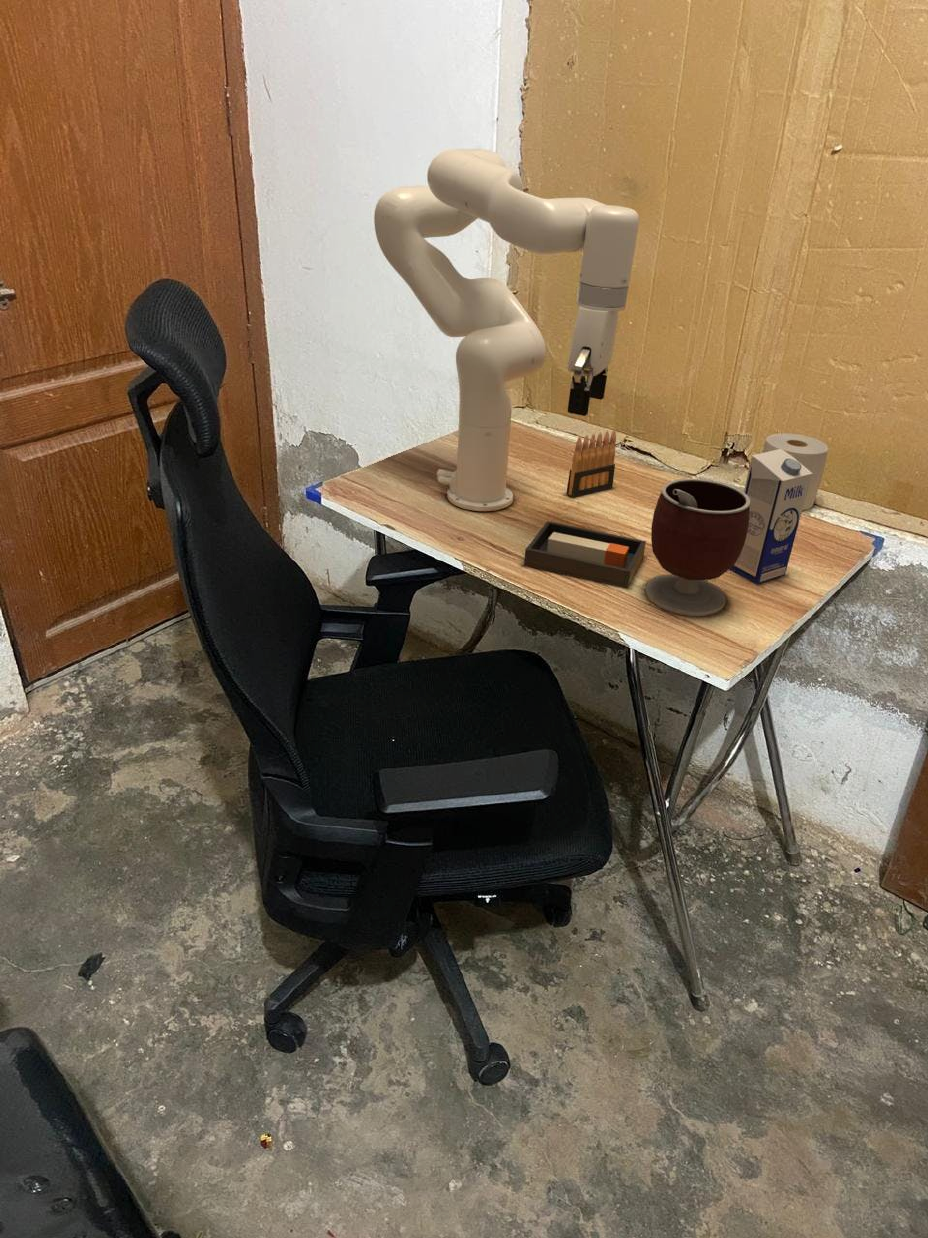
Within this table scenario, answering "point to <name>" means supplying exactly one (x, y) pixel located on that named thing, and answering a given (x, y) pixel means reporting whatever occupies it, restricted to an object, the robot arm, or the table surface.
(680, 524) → the mate gourd
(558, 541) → the rectangular block
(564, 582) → the table surface
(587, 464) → the ammunition clip
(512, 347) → the robot arm
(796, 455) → the toilet paper roll
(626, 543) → the tray
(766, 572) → the milk carton
